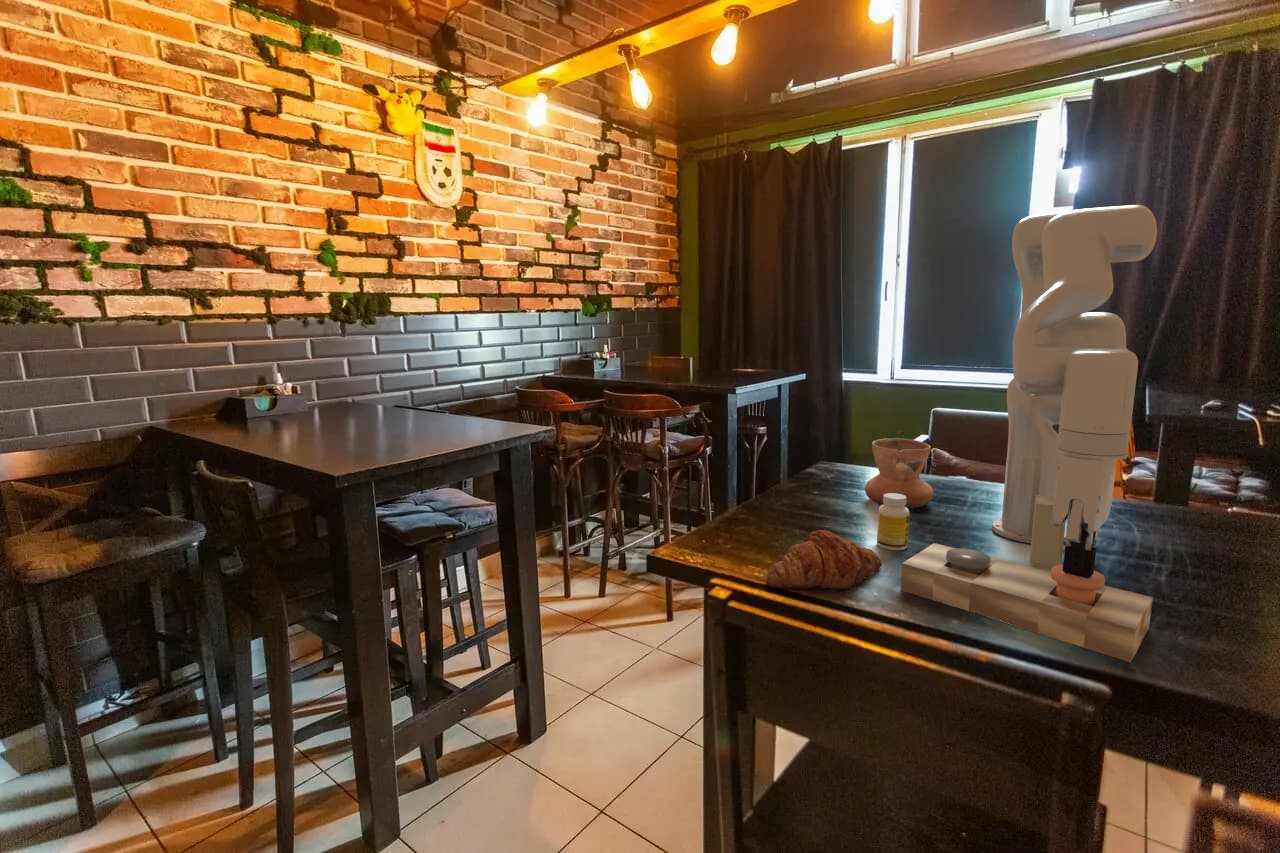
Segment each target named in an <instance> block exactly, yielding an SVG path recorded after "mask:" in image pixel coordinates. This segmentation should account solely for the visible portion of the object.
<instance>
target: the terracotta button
mask: <svg viewBox="0 0 1280 853" xmlns="http://www.w3.org/2000/svg"><path fill="white" fill-rule="evenodd" d="M1051 578H1052V579H1053V580H1054V581H1056V582H1057V588H1056V597H1060V598H1064V599H1067V600H1071V601H1075V602H1078V603H1082V604H1086V605H1089V606H1093V607H1094V603H1095V595H1096V590H1098V589H1102V588H1103V587H1104V585H1105V582H1106V579H1105V578H1106V577H1105V576H1104V574H1102V573H1100V572H1098V571H1096V570H1094V573H1093V575H1092V576H1091V577H1090V578H1084V577H1080V576H1076V575H1072V574H1068V573H1065V572H1063V564H1061V565H1056V566H1053V567H1052V569H1051Z"/></svg>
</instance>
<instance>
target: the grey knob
mask: <svg viewBox="0 0 1280 853" xmlns="http://www.w3.org/2000/svg"><path fill="white" fill-rule="evenodd" d="M990 557H991V556H989V555H988V554H986V553H985V552H981V551H978V550H976V549H975V550H974V549H971V548H970V549H969V548H962V547H961V548H956V549H951V550H948V551H947V554H946V560H947V561H948V562H949V563H950V564H952V565H951V568H953V569H957V570H961V571H964V572H968V573H972V574H975V575H979V576H980V575H981V574H982V573H983V571H984V569H987V568H989V567H990V560H991V559H990Z"/></svg>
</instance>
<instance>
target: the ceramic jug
mask: <svg viewBox="0 0 1280 853" xmlns="http://www.w3.org/2000/svg"><path fill="white" fill-rule="evenodd" d="M871 443H872V444H871V447H872V454H873V458H874V461H875V464H876V467H877V469H878V471H879V473H878V474H877V475H876V476H874V477H872V478H869V480H868V481H867V482H866V484H865V485H864V491H865V494H866V496H867V498H868V499H870V500H871V501H872V502H873V503H875V504H878V505H880V506H882V505H884V503H883V495H884V494H887V493H897V494H902V495H905V496H906V505H905V507H906V508H908V510H909V509H916V508H919V507H923V506H927V504H929V503H930V502H931V501H932V500H933V497H934V495H935V494H934V490H933V488H932V486H931V485H930V484H929V483H928V482H926V481H925V480H923V479H922V478H921V477H920V475H921V473H922V471H923V470H924V467H925V465H926V463H927V461H928V459H929V456H930V453H931V449H932V448H931V447H932V446H931V445H930V444H928V443H926V442H923V441H919V440H915V439H910V438H901V437H894V438H888V437H887V438H881V439H880V438H879V439H876V440H873V441H872V442H871Z"/></svg>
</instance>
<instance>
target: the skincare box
mask: <svg viewBox="0 0 1280 853" xmlns="http://www.w3.org/2000/svg"><path fill="white" fill-rule="evenodd" d="M1053 504H1054V497H1050V496H1042V495H1036V496H1035V506H1034V517H1033V528H1032V539H1031V543H1030V552H1029V553H1030V554H1029V562H1028V563H1029V564H1028V565H1029V566H1028V567H1033V568H1037V569H1041V570H1045V571H1049V572H1051V569H1052V567H1053V566H1056V565H1063V563H1062V562H1063V552H1064V543H1065V542H1064V533H1065V530H1066V523H1067V520H1065V521H1064V522H1063V523H1062V524H1061V525H1059V526H1057V527H1055V526H1053V525H1052V523H1051V517H1052V510H1053Z"/></svg>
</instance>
